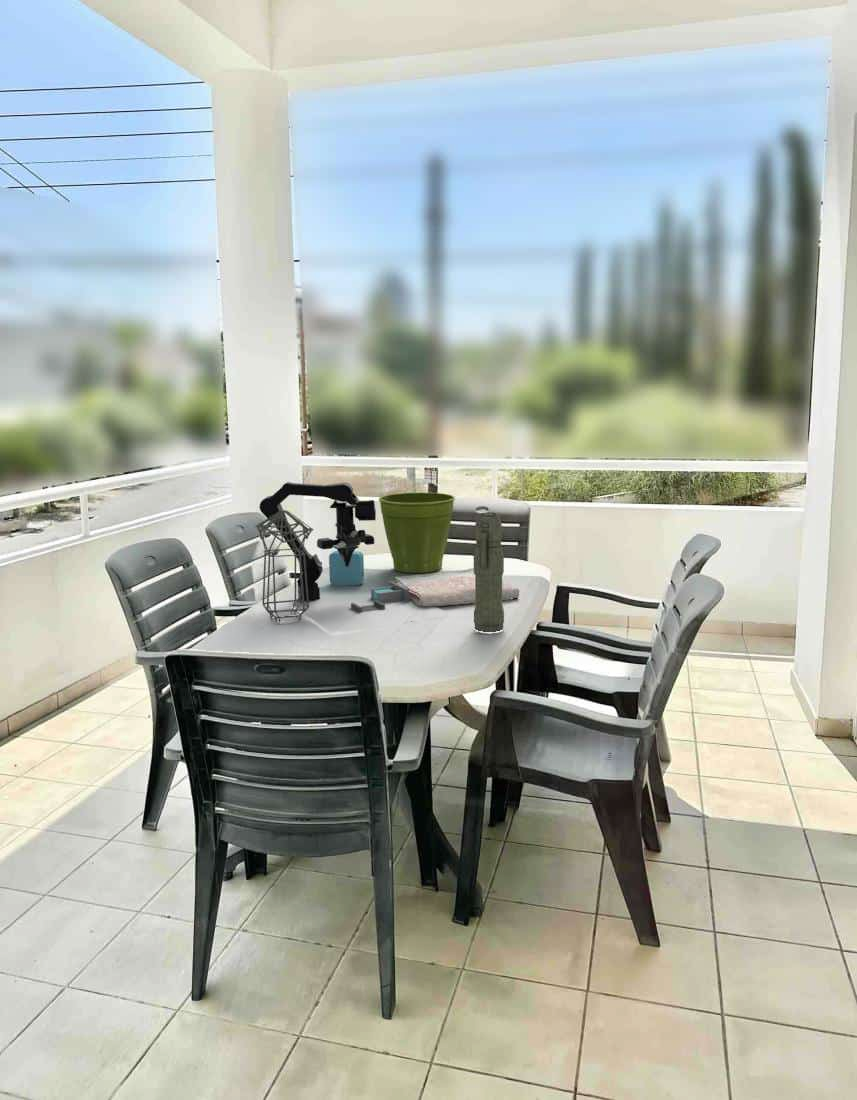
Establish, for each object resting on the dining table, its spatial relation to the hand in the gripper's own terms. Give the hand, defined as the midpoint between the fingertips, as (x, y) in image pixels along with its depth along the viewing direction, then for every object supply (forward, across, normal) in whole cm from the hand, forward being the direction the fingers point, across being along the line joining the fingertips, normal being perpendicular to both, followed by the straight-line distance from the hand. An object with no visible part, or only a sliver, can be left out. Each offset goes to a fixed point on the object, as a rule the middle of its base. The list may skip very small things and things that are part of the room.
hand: (346, 566), depth 294 cm
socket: (+12, +12, -7) cm, 18 cm away
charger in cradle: (+12, +1, -16) cm, 20 cm away
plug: (+12, +10, -7) cm, 17 cm away
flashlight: (+12, +24, -54) cm, 60 cm away
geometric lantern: (+12, -25, -13) cm, 31 cm away
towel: (+13, +36, -9) cm, 39 cm away
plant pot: (+12, +43, +34) cm, 56 cm away
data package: (+12, +9, +24) cm, 28 cm away
